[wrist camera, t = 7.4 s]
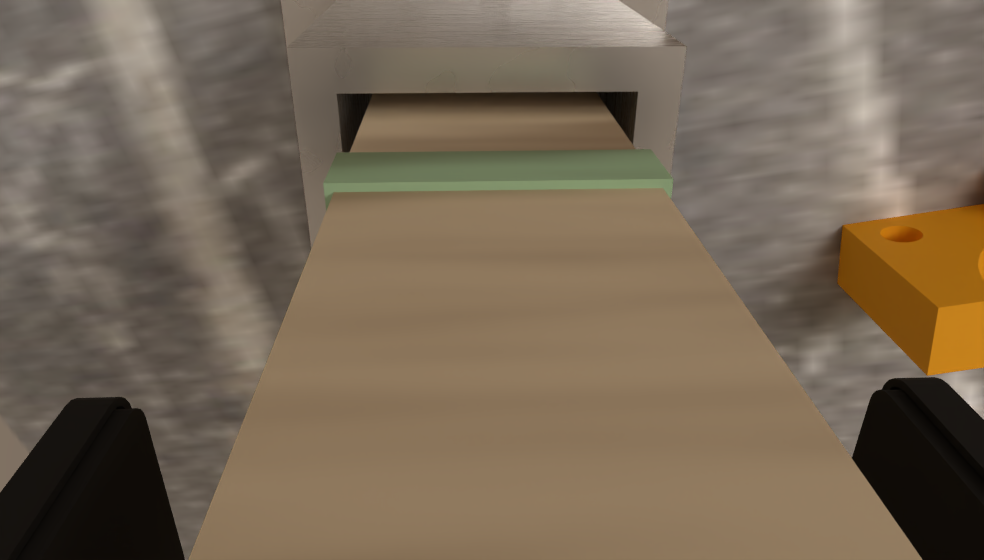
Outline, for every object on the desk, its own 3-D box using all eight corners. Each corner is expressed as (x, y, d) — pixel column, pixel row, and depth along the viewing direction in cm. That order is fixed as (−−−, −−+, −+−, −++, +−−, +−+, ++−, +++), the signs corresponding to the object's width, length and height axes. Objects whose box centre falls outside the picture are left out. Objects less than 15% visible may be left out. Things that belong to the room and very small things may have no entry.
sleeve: (277, -83, 22) (161, -64, 13) (668, -82, 23) (804, -63, 14) (319, 268, 28) (258, 444, 19) (632, 262, 28) (712, 431, 20)
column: (370, 78, 18) (118, 643, 4) (596, 76, 18) (1000, 610, 5) (384, 278, 20) (254, 1012, 7) (581, 275, 20) (815, 979, 7)
